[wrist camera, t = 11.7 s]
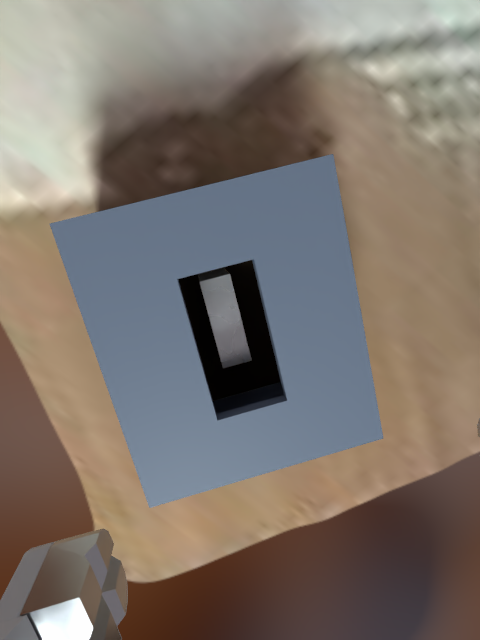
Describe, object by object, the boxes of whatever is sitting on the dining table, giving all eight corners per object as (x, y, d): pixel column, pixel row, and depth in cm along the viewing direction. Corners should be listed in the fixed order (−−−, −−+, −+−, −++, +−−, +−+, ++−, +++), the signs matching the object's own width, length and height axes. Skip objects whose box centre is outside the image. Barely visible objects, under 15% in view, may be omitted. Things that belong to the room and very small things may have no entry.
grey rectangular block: (198, 274, 30) (199, 281, 25) (223, 267, 30) (229, 273, 25) (218, 347, 31) (222, 368, 26) (242, 341, 31) (251, 360, 27)
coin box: (98, 227, 28) (49, 223, 18) (285, 180, 29) (333, 154, 19) (162, 424, 32) (149, 507, 22) (326, 378, 33) (383, 438, 23)
